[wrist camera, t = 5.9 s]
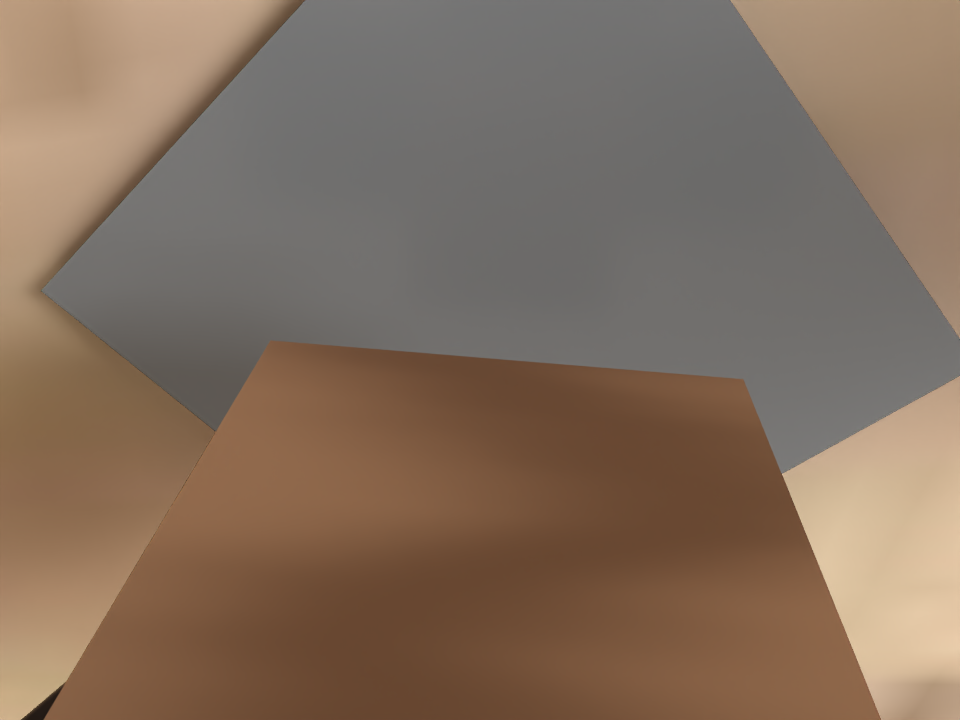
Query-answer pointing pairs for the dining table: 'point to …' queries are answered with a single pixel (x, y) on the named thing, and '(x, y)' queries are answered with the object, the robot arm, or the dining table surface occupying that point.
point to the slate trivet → (517, 214)
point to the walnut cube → (475, 556)
